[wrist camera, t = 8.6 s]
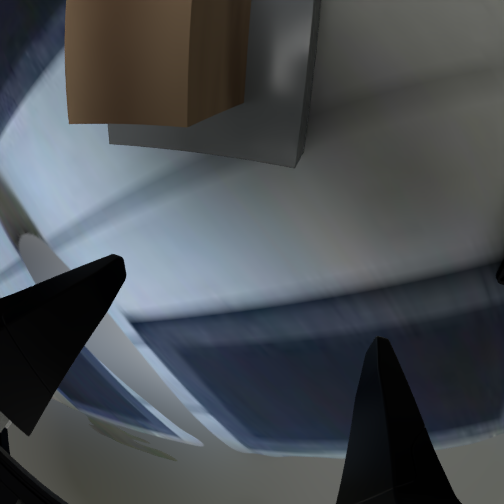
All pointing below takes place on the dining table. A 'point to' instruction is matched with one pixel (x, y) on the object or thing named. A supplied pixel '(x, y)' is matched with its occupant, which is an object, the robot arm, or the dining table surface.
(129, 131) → the slate slab
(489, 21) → the dining table surface
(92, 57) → the walnut cube
